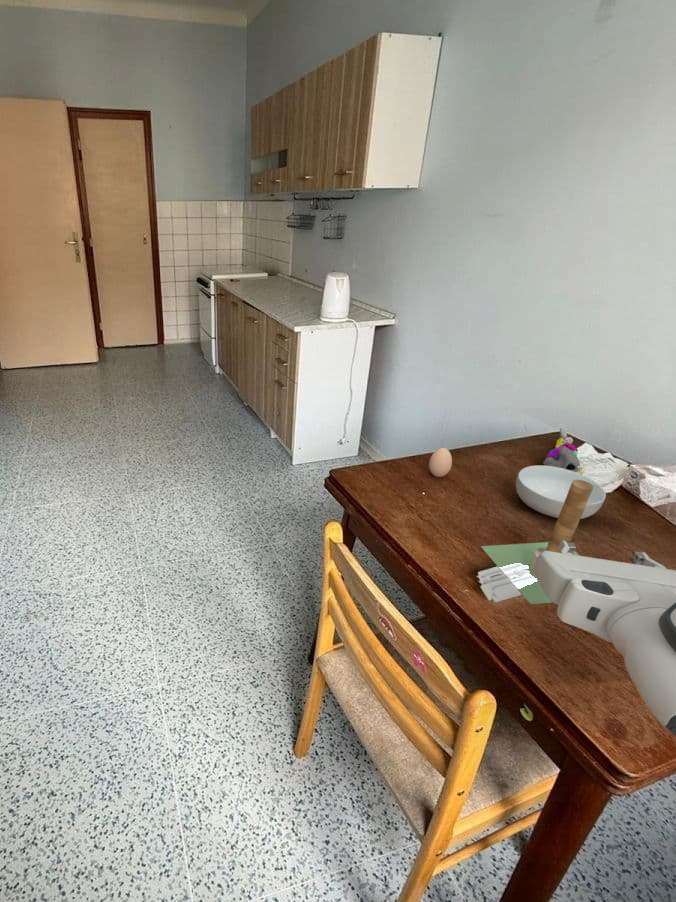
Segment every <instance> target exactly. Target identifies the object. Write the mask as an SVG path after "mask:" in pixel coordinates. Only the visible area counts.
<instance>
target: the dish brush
mask: <svg viewBox="0 0 676 902" xmlns="http://www.w3.org/2000/svg"><path fill="white" fill-rule="evenodd" d="M592 490H593V485H592V484H590V483H588V482H586V481H582V480H574V481H572V484H571V486H570V489H569V491H568V494H567V497H566V499H565V502H564V504H563V507H562V509H561V512H560V515H559V517H558V518H557V521H556V523H555V524H554V528H553V530H552V533H551V536H550V538H549V541H548V542H549V543H548V546H547V547H541V548H538V549H536V550H535V553H534V555H533V558H532V561H531V563H530V566H529V571H530V573H531V574H532V575H533V576H534V577H535V578H537V577H536V575H535V572H534V567H535V563H536V560H537V558H538V556H539V555H540V554H541V553H542V552H543V551H552V552H558V553H560V551H559V545H560V542H561V541H562V540H563V541H569V542H572V540H573V538H574V535H575V533H576V531H577V528H578V526H579V523H580V521H581V519H580V518H581V516H582V514H583V511H584V509H585V506H586V504H587V502H588V499H589V497H590V494H591V492H592Z"/></svg>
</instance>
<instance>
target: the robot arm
mask: <svg viewBox="0 0 676 902" xmlns="http://www.w3.org/2000/svg"><path fill="white" fill-rule="evenodd" d="M574 543H575V542H573V541H571V542H569V541H563V540H562V541H561V542H560V545H559V551H560V553H558V552H552V551H543V552H542V553H541V554H540V555H539V556H538V558H537V560H536V563H535V567H534V572H535V575H536V577H537V580H538V582H539V584H540V586H541V588H542V589H543V591H544V593H545V594H546V596H547V597H548V598H549V599H550V600H551V601H552V602H553V604H554V605H556V606H558V607H557V610H556V614H557V618H558V619H559V620H560V621H562V622H563V623H565V624H566V625H567V624H568V625H570V626H573V627H575V628H578V629H580V630H583V631H586V632H588V633H590V634H591V635H592V634H593V635H595V636H596V637H599V638H601V639H603V640H604V641H607V642H608V643H611V644H612V645H613V647H614V649H615V650H616V651H617V652H618V653H619V654H620V655H621V656H622V658H623V663H624V668H625V670H626V673H627V675H628V677H629V678H630V680H631V683H632V684H633V685H634V687H635V689H636V691H637V692H638V694H639V695H640V697H641V699H642V700H643V702H644V704H645V705H646V707H647V708H648V710H649V711H650V712H651V714H652V715H653V716H654V718H655V719H656V720H657V721H658V722H659V723H660V725H661V726H663V728H664V729H665V730H667V731H669V733H672V734H673V735H674V736H676V569H669V568H667V567H666V566H665V565H663V564H661V563H659V562H657V561H656V560H654V559H653V558H651V557H650V556H649V555H648V554H647V553H646V552H645V551H635V550H632V551H631V554H630V555H629V557H628V558H629V562H624V561H617V560H610V559H603V558H597V557H590V556H583V555H580V556H578V555H573V554H574V553H573V552H574V551H575V552H576V549H577V547H576V545H575V544H574Z"/></svg>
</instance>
